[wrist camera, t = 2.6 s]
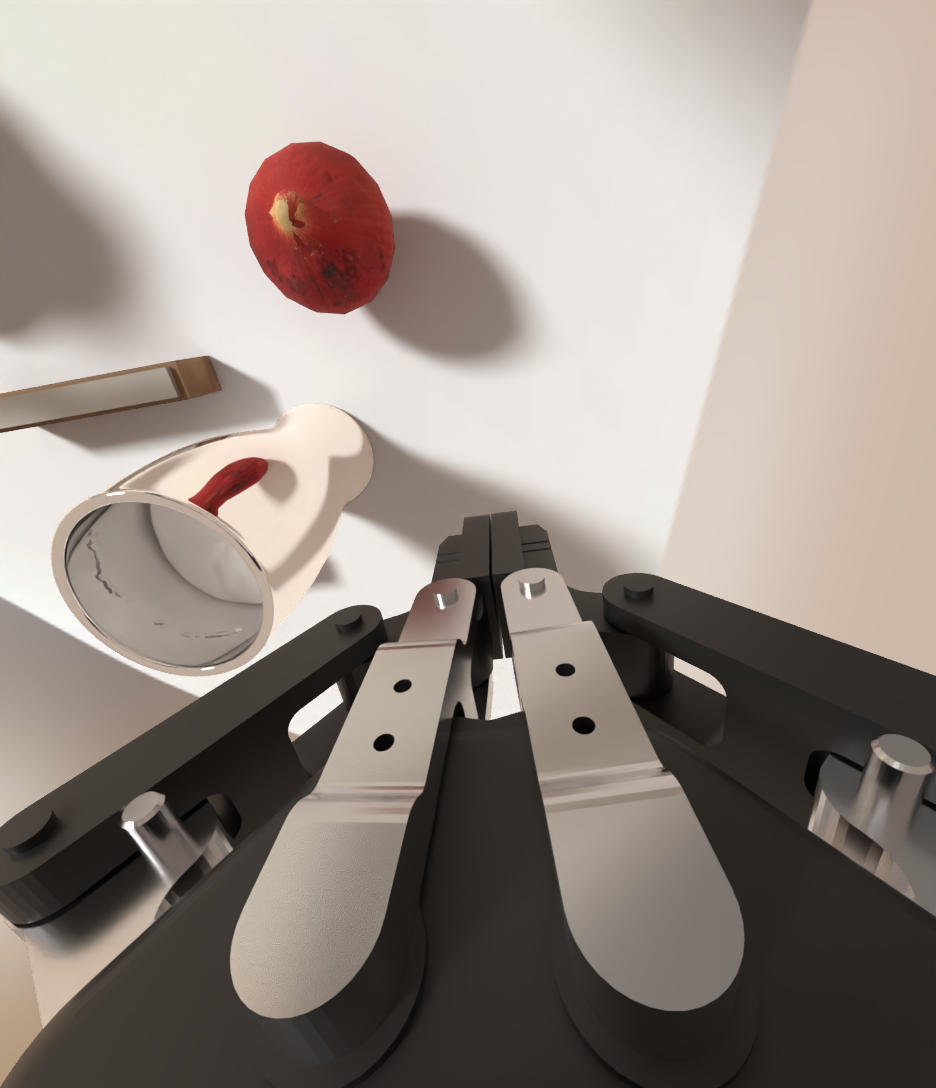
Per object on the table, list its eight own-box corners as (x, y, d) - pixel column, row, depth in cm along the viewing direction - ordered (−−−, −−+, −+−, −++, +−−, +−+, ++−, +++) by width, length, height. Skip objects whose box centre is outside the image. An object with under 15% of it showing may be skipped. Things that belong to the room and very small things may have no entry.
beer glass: (392, 414, 26) (291, 523, 13) (369, 522, 29) (270, 702, 16) (268, 378, 25) (24, 452, 12) (259, 492, 28) (56, 653, 15)
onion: (426, 283, 23) (399, 269, 16) (327, 332, 24) (261, 340, 17) (371, 146, 21) (310, 59, 14) (265, 208, 22) (157, 158, 15)
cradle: (13, 392, 26) (-48, 402, 23) (208, 355, 25) (171, 361, 22) (122, 580, 32) (84, 608, 29) (286, 558, 30) (265, 584, 27)
